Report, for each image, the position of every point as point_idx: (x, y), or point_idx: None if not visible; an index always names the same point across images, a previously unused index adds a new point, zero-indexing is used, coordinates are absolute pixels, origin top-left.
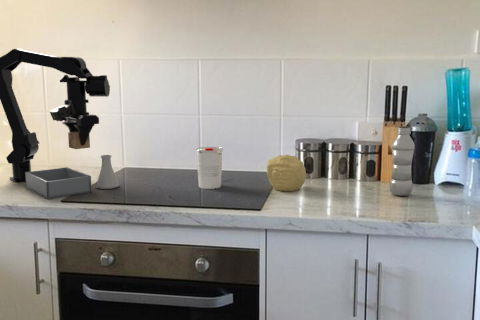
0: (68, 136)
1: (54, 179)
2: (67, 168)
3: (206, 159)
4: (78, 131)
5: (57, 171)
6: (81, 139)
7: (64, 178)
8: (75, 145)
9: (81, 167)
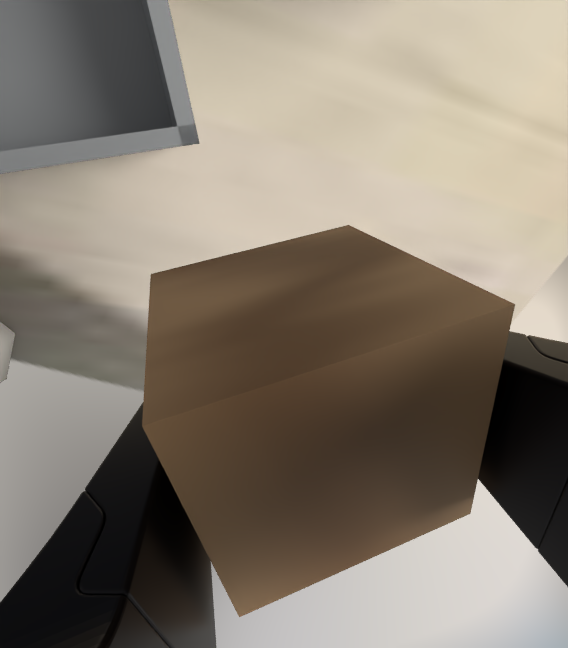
0: (442, 273)
1: (143, 5)
2: (137, 132)
3: None
4: (115, 564)
5: (152, 28)
6: (128, 439)
7: (169, 110)
8: (150, 297)
9: (504, 295)
